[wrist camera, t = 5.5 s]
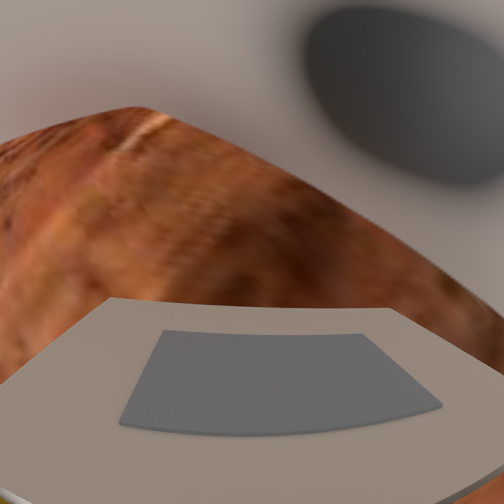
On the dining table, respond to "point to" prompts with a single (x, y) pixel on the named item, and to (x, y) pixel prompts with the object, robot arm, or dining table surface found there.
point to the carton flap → (248, 410)
